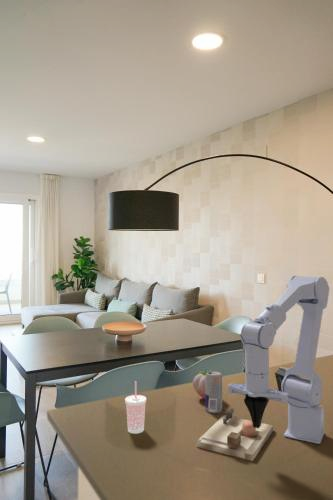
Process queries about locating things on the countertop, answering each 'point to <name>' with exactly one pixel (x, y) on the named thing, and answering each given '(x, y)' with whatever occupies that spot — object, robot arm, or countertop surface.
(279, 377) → the electrical switch
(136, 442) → the countertop surface
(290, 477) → the countertop surface
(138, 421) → the beverage cup
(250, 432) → the terracotta button
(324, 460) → the countertop surface
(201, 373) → the decorative fruit
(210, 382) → the energy drink
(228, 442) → the walnut slider
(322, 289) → the robot arm
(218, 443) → the control panel
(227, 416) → the grey rectangular block
